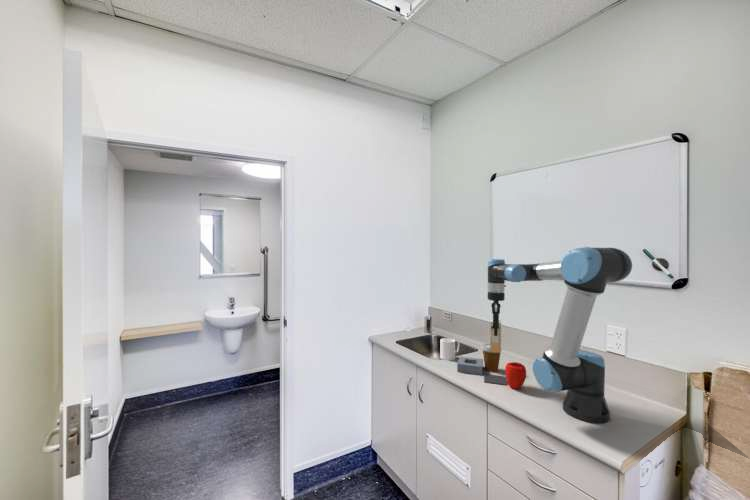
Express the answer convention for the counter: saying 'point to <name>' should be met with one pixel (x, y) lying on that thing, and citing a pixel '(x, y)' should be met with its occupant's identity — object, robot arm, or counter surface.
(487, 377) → the pad
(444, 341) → the cup
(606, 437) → the counter surface
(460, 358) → the gray square block
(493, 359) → the disposable coffee cup
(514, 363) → the apple
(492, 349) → the tall drinking glass
